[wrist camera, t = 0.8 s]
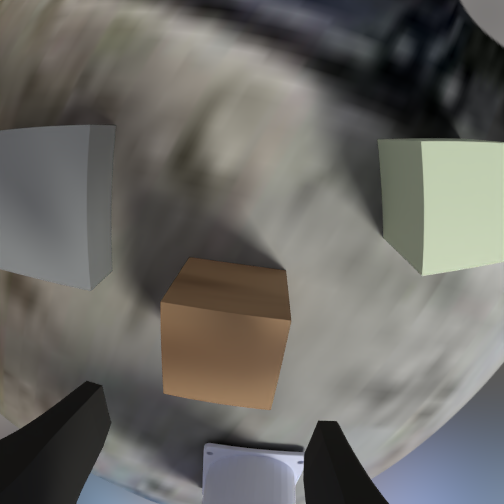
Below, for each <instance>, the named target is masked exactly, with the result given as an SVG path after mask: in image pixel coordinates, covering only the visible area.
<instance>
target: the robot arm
mask: <svg viewBox="0 0 504 504" xmlns="http://www.w3.org/2000/svg"><path fill="white" fill-rule="evenodd" d="M110 425H111V420H110V416H109V413H108V409H107V404H106V400H105V396H104V392H103V387H102V385H99V384H96V383H92V382H89V381H86V382H85V383H83V384H82V385H81V386H79V387H78V388H77V389H75V390H74V391H73V392H71V393H70V394H69V395H68V396H66V397H65V398H64V399H62V400H61V401H60V402H58V403H57V404H56V405H54V406H53V407H52V408H50V409H49V410H48V411H46V412H45V413H43V414H42V415H41V416H39V417H38V418H36V419H35V420H33V421H32V422H30V423H29V424H27V425H25V426H24V427H22V428H21V429H19V430H18V431H16V432H14V433H12V434H10V435H8V436H7V437H5V438H3V439H1V440H0V504H76V502H77V500H78V498H79V495H80V493H81V490H82V488H83V486H84V484H85V482H86V480H87V478H88V476H89V474H90V472H91V470H92V468H93V466H94V464H95V462H96V460H97V458H98V456H99V454H100V452H101V450H102V448H103V445H104V443H105V440H106V437H107V434H108V431H109V428H110ZM303 469H304V479H303V480H304V490H305V500H306V504H389V503H388V502H387V501H386V500H385V498H384V497H383V496H382V495H381V493H380V492H379V490H378V489H377V487H376V486H375V485H374V483H373V482H372V480H371V479H370V478H369V476H368V474H367V473H366V471H365V470H364V468H363V467H362V465H361V463H360V462H359V460H358V459H357V457H356V455H355V454H354V452H353V450H352V448H351V446H350V445H349V443H348V441H347V439H346V437H345V435H344V434H343V432H342V430H341V428H340V426H339V424H338V423H337V421H318V423H317V425H316V428H315V430H314V432H313V435H312V437H311V440H310V442H309V444H308V447H307V449H306V451H305V452H289V451H274V450H262V449H252V448H243V447H235V446H227V445H220V444H214V443H206V444H205V445H204V455H203V486H202V494H203V499H202V504H296V500H295V485H296V483H297V481H298V479H299V477H300V475H301V473H302V471H303Z"/></svg>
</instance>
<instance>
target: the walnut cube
mask: <svg viewBox="0 0 504 504" xmlns="http://www.w3.org/2000/svg"><path fill="white" fill-rule="evenodd" d="M160 304H161V351H162V374H163V391H164V394H168V395H173V396H178V397H183V398H189V399H194V400H200V401H206V402H212V403H218V404H225V405H232V406H240V407H248V408H256V409H266V410H271V407H272V403H273V398H274V394H275V390H276V386H277V382H278V378H279V373H280V369H281V365H282V360H283V356H284V351H285V347H286V342H287V338H288V333H289V329H290V324H291V313H290V304H289V294H288V285H287V276H286V270H280V269H272V268H265V267H257V266H250V265H242V264H235V263H228V262H220V261H213V260H206V259H199V258H192V257H189V258H188V260H187V262H186V263H185V265H184V266H183V268H182V269H181V271H180V272H179V274H178V275H177V277H176V278H175V280H174V281H173V283H172V285H171V286H170V288H169V289H168V291H167V292H166V294H165V295H164V297H163V299H162V300H161V302H160Z"/></svg>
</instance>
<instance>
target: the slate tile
mask: <svg viewBox="0 0 504 504" xmlns="http://www.w3.org/2000/svg"><path fill="white" fill-rule="evenodd" d="M115 130H116V126H114V125H65V126H46V127H32V128H20V129H9V130H0V269H2V270H6V271H10V272H13V273H17V274H21V275H25V276H29V277H33V278H37V279H41V280H45V281H49V282H53V283H58V284H62V285H66V286H71V287H75V288H79V289H84V290H89V291H91V290H93V289H94V288H95V287H96V286H97V285H98V284H99V283H100V282H101V281H102V280H103V279H104V278H105V277H106V276H108V275H109V274H110V273H111V272H112V240H111V206H112V174H113V156H114V142H115Z"/></svg>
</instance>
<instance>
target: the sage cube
mask: <svg viewBox="0 0 504 504" xmlns="http://www.w3.org/2000/svg"><path fill="white" fill-rule="evenodd" d="M378 150H379V161H380V174H381V190H382V211H383V238H384V239H385V240H386V241H387V242H388V243H389V244H390V245H391V246H392V247H393V248H394V249H395V250H396V251H397V252H398V253H399V254H400V255H401V256H402V257H403V258H404V259H405V260H407V261H408V262H409V263H410V264H411V265H412V266H413V267H414V268H415V269H416V270H417V271H418V272H419V273H420V274H421V275H422V276H425V275H432V274H438V273H444V272H450V271H456V270H462V269H467V268H473V267H479V266H484V265H490V264H495V263H500V262H504V142H496V141H485V140H473V139H453V138H413V139H380V140H378Z"/></svg>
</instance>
